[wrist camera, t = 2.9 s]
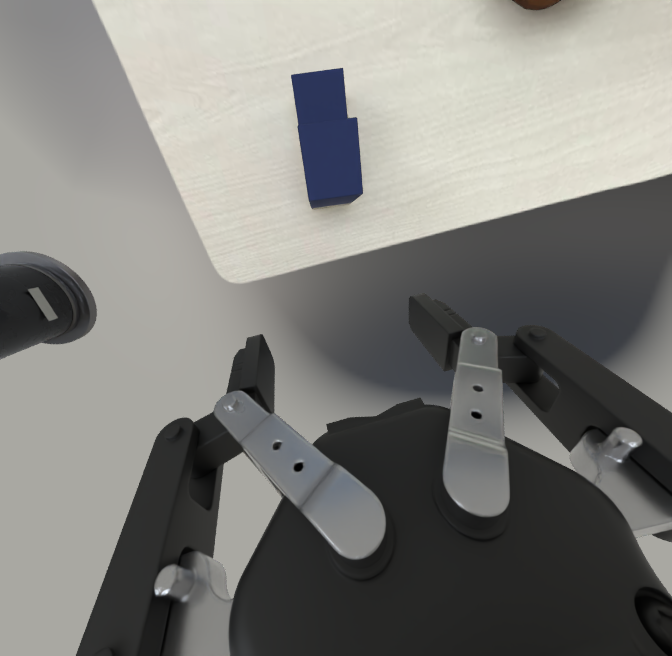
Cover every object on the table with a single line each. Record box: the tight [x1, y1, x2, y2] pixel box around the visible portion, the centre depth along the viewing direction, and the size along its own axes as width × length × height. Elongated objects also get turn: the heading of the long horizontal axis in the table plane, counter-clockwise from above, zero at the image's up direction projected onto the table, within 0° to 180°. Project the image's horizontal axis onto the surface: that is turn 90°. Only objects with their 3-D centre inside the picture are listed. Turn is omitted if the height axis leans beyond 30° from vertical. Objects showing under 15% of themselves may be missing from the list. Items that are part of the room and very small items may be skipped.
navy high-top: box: [291, 68, 363, 209], centre depth 22 cm, size 4×10×9 cm, turn 7°
